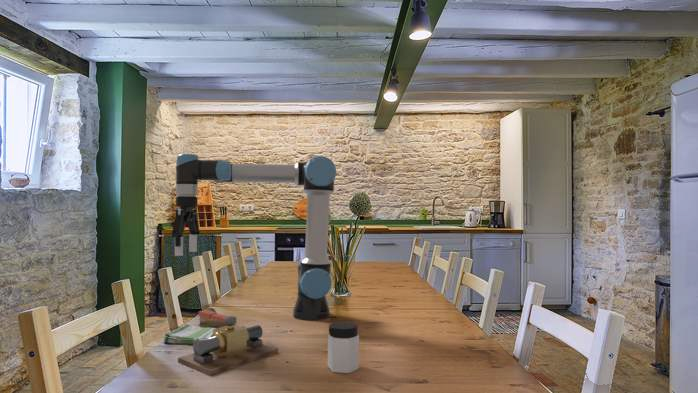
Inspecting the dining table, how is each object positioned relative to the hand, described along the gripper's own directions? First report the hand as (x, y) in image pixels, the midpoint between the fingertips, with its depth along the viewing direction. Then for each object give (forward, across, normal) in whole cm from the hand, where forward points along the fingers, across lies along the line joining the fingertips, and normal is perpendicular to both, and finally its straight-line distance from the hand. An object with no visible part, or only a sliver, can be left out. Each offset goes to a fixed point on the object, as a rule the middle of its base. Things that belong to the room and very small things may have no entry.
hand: (186, 253), depth 161 cm
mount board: (+28, +29, +25) cm, 47 cm away
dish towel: (+28, +10, +11) cm, 32 cm away
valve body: (+26, +29, +25) cm, 47 cm away
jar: (+28, +37, +59) cm, 75 cm away
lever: (+17, +25, +20) cm, 37 cm away
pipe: (+28, -4, +10) cm, 30 cm away
